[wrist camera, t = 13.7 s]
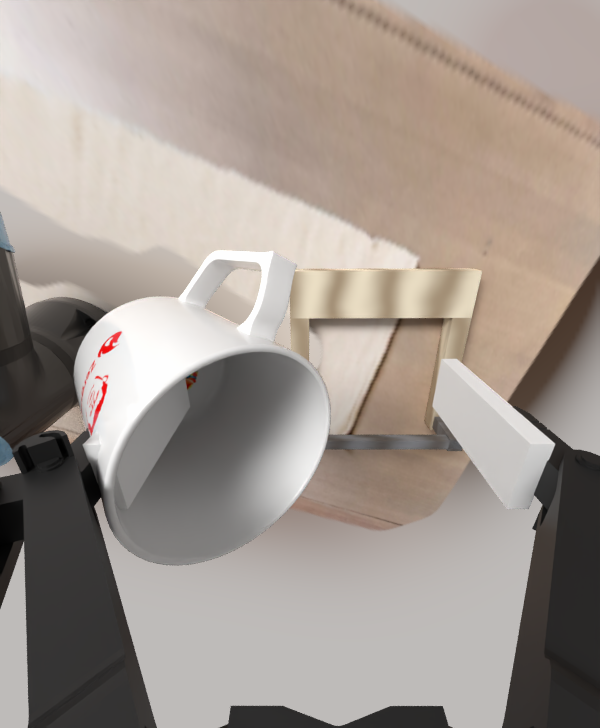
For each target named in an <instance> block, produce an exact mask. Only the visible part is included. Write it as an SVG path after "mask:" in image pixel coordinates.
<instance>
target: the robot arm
mask: <svg viewBox="0 0 600 728" xmlns="http://www.w3.org/2000/svg"><path fill="white" fill-rule="evenodd" d="M13 253H15V250H14V248H13V246H11V245H10V243H9V239H8V236H7V232H6V229H5V225H4V222H3V219H2V215H1V212H0V466H2V465H4V464H6V463H7V462H9V461H10V460H11V459H12V458H13V457H14V458H15V460H16V462H17V464H18V466H19V468H20V470H21V473H20V474H15V475H10V476H5V477H1V478H0V608H1V605H2V602H3V599H4V597H5V594H6V591H7V588H8V585H9V582H10V579H11V576H12V574H13V571H14V568H15V565H16V562H17V559H18V556H19V553H20V550H21V548H22V545H23V542H24V552H25V588H26V626H27V664H28V699H29V700H28V703H29V724H28V728H157V727H156V723H155V720H154V717H153V713H152V710H151V706H150V702H149V699H148V695H147V692H146V688H145V685H144V681H143V677H142V674H141V670H140V667H139V663H138V660H137V656H136V653H135V649H134V645H133V642H132V638H131V635H130V631H129V627H128V624H127V620H126V617H125V614H124V610H123V606H122V602H121V599H120V595H119V592H118V588H117V585H116V581H115V578H114V574H113V570H112V567H111V563H110V560H109V556H108V553H107V549H106V546H105V542H104V538H103V535H102V531H101V528H100V524H99V520H98V517H97V513H96V511H95V508H94V506H95V504H96V503H97V502H98V500H99V499H100V498H101V495H100V490H99V486H98V481H97V472H96V465H97V458H98V453H99V450H100V447H101V442H100V439H99V436H98V432H97V431H96V432H95V433H94V434H93V435H92V436H91V437H90V434H89V431H88V428H87V429H86V431H84V432H83V433H82V434H81V435H80V436H79V437H78V438H77V439H76V440H75V441H74V442H73V443H71V444H70V442H69V440H68V437H67V435H66V433H65V432H63V431H59V430H54V431H46V432H44V431H45V430H46V429H47V428H49V427H50V426H51V425H52V424H53V423H55V422H56V421H57V420H58V419H59V418H61V417H62V416H63V415H64V414H65V413H66V412H68V411H69V410H70V409H72V408H73V407H76V406H79V403H78V399H77V394H76V390H75V385H74V365H75V360H76V356H77V353H78V350H79V347H80V345H81V343H82V341H83V340H84V338H85V336H86V335H87V333H88V332H89V331H90V329H91V328H92V327H93V326H94V325H95V324H96V323H97V322H98V321H99V320H100V319H101V318H102V317H104V316H105V315H106V313H105V312H103V311H102V310H100V309H99V308H97V307H95V306H93V305H92V304H89V303H87V302H85V301H82V300H78V299H74V298H67V297H57V298H51V299H47V300H44V301H40V302H37V303H34V304H32V305H30V306H28V307H27V308H25V305H24V301H23V296H22V292H21V287H20V283H19V278H18V274H17V269H16V265H15V260H14V255H13ZM432 406H433V408H434V409H435V411H436V412H437V413H438V415H439V416H440V417H441V419H442V420H443V422H444V423H445V424H446V426H447V427H448V429H449V430H450V431H451V433H452V434H453V435H454V437H455V438H456V440H457V441H458V442H459V444H460V445H461V447H462V448H463V449H464V451H465V452H466V453H467V455H468V456H469V458H470V459H471V460H472V462H473V463H474V465H475V466H476V467H477V469H478V470H479V471H480V473H481V474H482V475H483V477H484V478H485V480H486V481H487V483H488V484H489V485H490V487H491V488H492V489H493V491H494V492H495V493H496V495H497V496H498V498H499V499H500V500H501V502H502V503H503V505H504V506H505V507H506V509H529V507H530V505H531V502H532V500H533V497H534V495H535V496H536V497H537V499H538V500H539V501H540V502H541V503H542V504H543V505H542V508H541V510H540V512H539V514H538V517H537V519H536V522H535V524H534V526H533V529H534V530H536V535H535V541H534V546H533V552H532V558H531V565H530V570H529V576H528V582H527V588H526V594H525V600H524V606H523V612H522V617H521V623H520V629H519V635H518V641H517V647H516V653H515V659H514V664H513V670H512V677H511V682H510V688H509V694H508V700H507V706H506V712H505V717H504V722H503V726H502V728H600V456H598V455H596V454H593V453H591V452H587V451H582V450H573V449H572V448H571V447H569V446H568V445H567V444H566V443H565V442H563V441H562V440H561V439H560V438H558V437H557V436H556V435H555V434H554V433H552V432H551V431H550V430H547V427H545V426H544V425H543V424H542V423H539V421H538V420H537V419H535V418H534V417H533V416H532V415H531V414H530V413H528V412H526V411H524V410H522V409H520V408H518V407H516V406H514V407H512V406H511V405H510V404H508V403H507V402H506V401H505V400H504V399H503V398H502V397H500V396H499V395H498V394H497V393H496V392H495V391H493V390H492V389H491V388H490V387H489V386H488V385H487V384H485V383H484V382H483V381H482V380H481V379H480V378H478V377H477V376H476V375H475V374H474V373H473V372H471V371H470V370H469V369H468V368H467V367H466V366H465V365H463V364H462V363H461V362H460V361H459V360H458V359H441V364H440V369H439V374H438V379H437V384H436V390H435V395H434V400H433V405H432ZM189 408H190V403H189V397H188V391H187V386H186V380H185V379H183V380H182V381H180V382H179V383H178V384H176V385H175V386H174V387H173V388H171V389H170V390H169V391H168V392H167V393H166V394H165V395H164V396H163V397H162V398H160V399H159V400H158V401H157V402H156V403H155V405H154V406H153V407H152V408H151V409H150V410H149V411H148V413H147V414H146V415H145V416H144V418H143V419H142V421H141V422H140V423H139V425H138V426H137V428H136V429H135V431H134V433H133V434H132V436H131V438H130V439H129V441H128V443H127V445H126V448H125V450H124V452H123V454H122V457H121V460H120V463H119V466H118V470H117V474H116V479H115V488H114V500H115V502H116V504H117V506H118V507H119V509H128V508H129V506H130V505H131V503H132V502H133V500H134V498H135V497H136V495H137V493H138V492H139V490H140V488H141V487H142V485H143V483H144V482H145V480H146V478H147V477H148V475H149V474H150V472H151V470H152V469H153V467H154V465H155V464H156V462H157V460H158V459H159V457H160V455H161V454H162V452H163V450H164V449H165V447H166V446H167V444H168V442H169V441H170V439H171V437H172V436H173V434H174V432H175V431H176V429H177V427H178V426H179V424H180V422H181V421H182V419H183V418H184V416H185V414H186V413H187V411H188V409H189ZM220 728H452V727H450V726H448V722H447V719H446V716H445V712H444V709H443V706H390V707H387V708H385V709H382V710H380V711H377V712H375V713H372V714H370V715H368V716H365V717H363V718H360V719H358V720H355V721H353V722H350V723H348V724H345V725H342V726H334V725H331V724H328V723H326V722H323V721H320V720H318V719H315V718H313V717H310V716H307V715H305V714H302V713H300V712H297V711H295V710H292V709H289V708H287V707H284V706H231V709H230V716H229V723H228V724H227V725H225V726H222V727H220Z"/></svg>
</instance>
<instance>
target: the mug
mask: <svg viewBox="0 0 600 728" xmlns="http://www.w3.org/2000/svg"><path fill="white" fill-rule="evenodd" d="M296 267H297V264H296V263H294V262H292V261H291V260H289V259H287V258H285V257H283V256H281V255H279V254H277V253H276V252H274V251H270V252H245V251H222V250H217V251H214V252H213V253H211V254H210V255H209V256H208V257H207V258H206V260H205V261H204V262H203V264H202V265H201V267H200V268H199V270H198V272H197V273H196V275H195V276H194V278H193V279H192V281H191V282H190V284H189V285H188V287H187V288H186V289H185V291H184V292H183V294H182V295H181V296H180V297H179V298H175V297H167V296H154V297H146V298H141V299H137V300H134V301H131V302H128V303H126V304H123V305H121V306H119V307H117V308H115V309H113V310H112V311H110V312H109V313H107V314H106V315H105V316H104V317H102V318H101V319H100V320H99V321H98V322H97V323H96V324H95V325H94V326H93V327H92V328H91V329H90V331H89V332H88V333H87V335H86V336H85V338H84V340H83V341H82V343H81V345H80V347H79V350H78V353H77V356H76V360H75V365H74V385H75V390H76V394H77V399H78V403H79V407H80V411H81V415H82V420H83V424H84V428H85V431H86V429H87V428H88V431H89V434H90V437H91V436H92V435H93V434H94V433H95V432H96V431H97V432H98V436H99V439H100V442H101V447H100V450H99V453H98V458H97V465H96V472H97V481H98V486H99V490H100V495H101V498H102V503H103V507H104V511H105V515H106V518H107V521H108V524H109V527H110V529H111V530H112V532H113V534H114V536H115V537H116V538H117V540H118V541H119V542H120V543H121V544H122V545H123V546H124V547H125V548H126V549H127V550H128V551H129V552H131V553H133V554H134V555H136V556H138V557H139V558H142V559H144V560H147V561H149V562H153V563H157V564H163V565H189V564H195V563H200V562H204V561H208V560H212V559H214V558H218V557H220V556H223V555H225V554H228V553H230V552H232V551H234V550H236V549H238V548H240V547H241V546H243V545H245V544H247V543H248V542H250V541H252V540H253V539H255V538H256V537H257V536H259V535H260V534H262V533H263V532H264V531H266V530H267V529H268V528H269V527H271V526H272V525H273V524H274V523H275V522H276V521H277V520H278V519H280V518H281V516H282V515H283V514H284V513H285V512H286V511H287V510H288V509H289V508H290V507H291V506H292V505H293V504H294V502H295V501H296V500H297V499H298V497H299V496H300V495H301V493H302V492H303V491H304V489H305V488H306V486H307V485H308V483H309V482H310V480H311V478H312V477H313V475H314V473H315V471H316V469H317V467H318V465H319V463H320V461H321V458H322V456H323V453H324V450H325V447H326V444H327V440H328V435H329V430H330V422H331V407H330V399H329V395H328V391H327V388H326V385H325V383H324V381H323V379H322V377H321V375H320V374H319V372H318V371H317V369H316V368H315V367H314V366H313V365H312V364H311V363H310V362H309V361H308V360H307V359H306V358H304V357H303V356H301V355H300V354H298V353H296V352H294V351H292V350H290V349H288V348H286V347H284V346H282V345H280V344H278V343H276V342H274V341H275V336H276V333H277V330H278V328H279V326H280V325H281V323H282V321H283V319H284V317H285V314H286V311H287V308H288V303H289V298H290V293H291V287H292V281H293V277H294V273H295V270H296ZM236 269H246V270H254V271H262V280H261V285H260V290H259V294H258V297H257V301H256V304H255V306H254V309H253V311H252V313H251V314H250V316H249V317H248V318H247V320H246V321H245V322H244V323H243V324H241V325H239V324H237V323H235V322H232V321H231V320H228V319H226V318H224V317H222V316H220V315H218V314H216V313H214V312H212V311H210V310H208V309H206V308H205V307H206V304H207V302H208V301H209V299H210V298H211V297H212V295H213V294H214V293H215V292H216V290H217V288H218V287H219V286H220V285H221V284H222V282H223V281H224V280H225V278H226V277H227V276H228V275H229V274H230V273H231V272H232V271H234V270H236ZM183 379H185V380H186V386H187V391H188V397H189V403H190V408H189V409H188V411H187V413H186V414H185V416H184V418H183V419H182V421H181V422H180V424H179V426H178V427H177V429H176V431H175V432H174V434H173V436H172V437H171V439H170V441H169V442H168V444H167V446H166V447H165V449H164V450H163V452H162V454H161V455H160V457H159V459H158V460H157V462H156V464H155V465H154V467H153V469H152V470H151V472H150V474H149V475H148V477H147V478H146V480H145V482H144V483H143V485H142V487H141V488H140V490H139V492H138V493H137V495H136V497H135V498H134V500H133V502H132V503H131V505H130V506H129V508H128V509H119V507H118V506H117V504H116V502H115V500H114V488H115V479H116V474H117V470H118V466H119V463H120V460H121V457H122V454H123V452H124V450H125V448H126V445H127V443H128V441H129V439H130V438H131V436H132V434H133V433H134V431H135V429H136V428H137V426H138V425H139V423H140V422H141V421H142V419H143V418H144V416H145V415H146V414H147V413H148V411H149V410H150V409H151V408H152V407H153V406H154V405H155V403H156V402H157V401H158V400H159V399H160V398H162V397H163V396H164V395H165V394H166V393H167V392H168V391H169V390H170V389H171V388H173V387H174V386H175V385H176V384H178V383H179V382H180V381H182V380H183Z"/></svg>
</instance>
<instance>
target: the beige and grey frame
mask: <svg viewBox="0 0 600 728" xmlns="http://www.w3.org/2000/svg"><path fill="white" fill-rule="evenodd" d="M481 274H482V271H480V270H477V269H473V268H443V269H296V270H295V273H294V277H293V281H292V287H291V293H290V324H291V350H292V351H294V352H296V353H298V354H300V355H301V356H303V357H304V358H306V359H307V360H308V361H309V318H444V320H443V325H442V330H441V335H440V341H439V346H438V351H437V357H436V362H435V367H434V373H433V378H432V383H431V388H430V394H429V399H428V404H427V410H426V415H425V420H424V421H425V423H426V424H427V426H428V428H429V429H430V430H434V431H435V432H436V434H437V435H328V440H327V444H326V447H325V449H446V450H447V451H462V447H461V445H460V444H459V442H458V441H457V440H456V438H455V437H454V435H453V434H452V433H451V431H450V430H449V429H448V427H447V426H446V424H445V423H444V422H443V420H442V419H441V417H440V416H439V415H438V413H437V412H436V411H435V409H434V408H433V406H432V405H433V400H434V395H435V390H436V384H437V379H438V374H439V369H440V364H441V359H458V360H459V361H460V362H462V358H463V354H464V349H465V345H466V340H467V336H468V332H469V327H470V323H471V318H472V314H473V309H474V305H475V301H476V296H477V292H478V287H479V283H480V279H481Z"/></svg>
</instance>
